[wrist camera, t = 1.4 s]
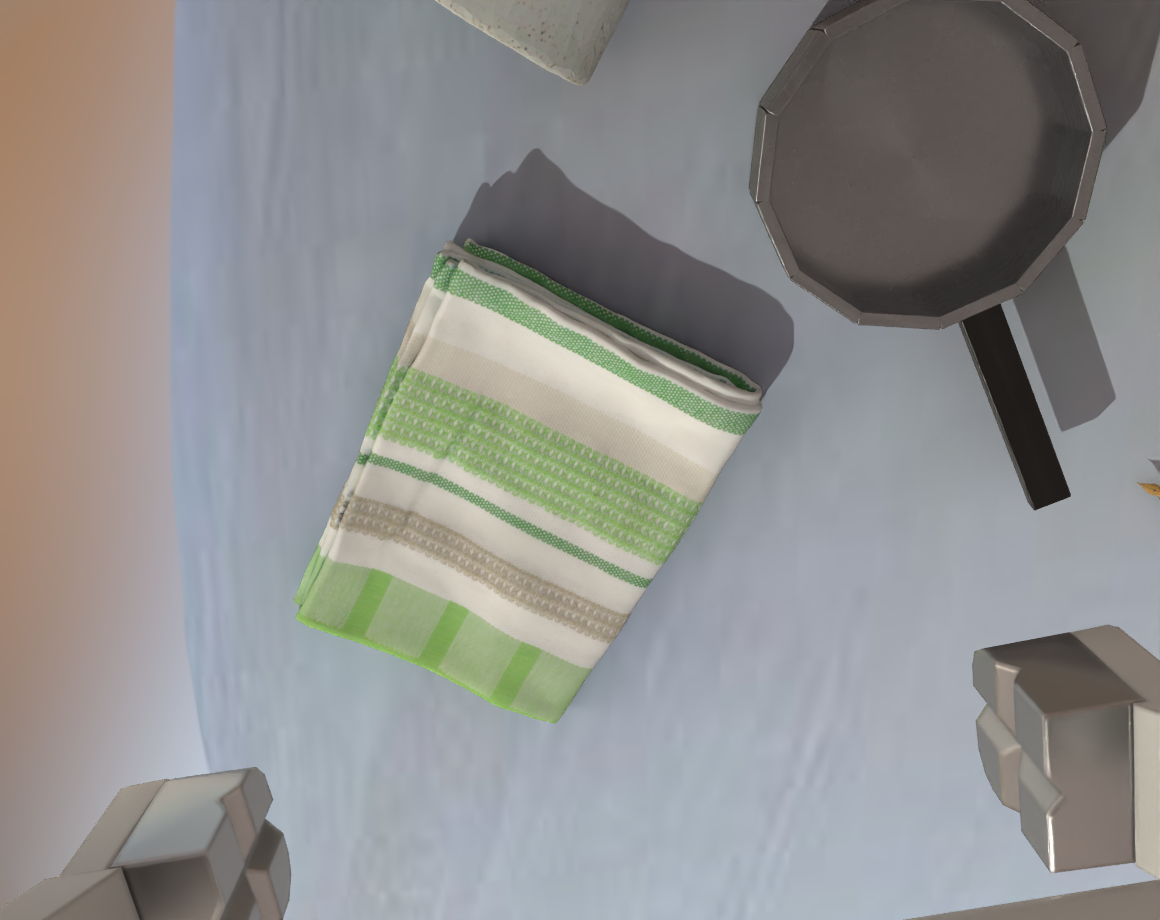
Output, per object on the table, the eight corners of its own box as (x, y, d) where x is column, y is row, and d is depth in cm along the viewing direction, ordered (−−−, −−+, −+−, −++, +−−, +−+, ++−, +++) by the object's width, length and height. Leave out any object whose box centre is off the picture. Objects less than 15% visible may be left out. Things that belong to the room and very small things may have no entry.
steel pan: (1012, -81, 41) (1041, -88, 38) (1172, 421, 49) (1206, 449, 46) (702, 85, 44) (705, 90, 41) (899, 529, 53) (914, 562, 50)
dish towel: (771, 383, 50) (779, 409, 47) (567, 714, 59) (561, 755, 56) (454, 223, 48) (439, 239, 44) (292, 592, 57) (270, 628, 53)
